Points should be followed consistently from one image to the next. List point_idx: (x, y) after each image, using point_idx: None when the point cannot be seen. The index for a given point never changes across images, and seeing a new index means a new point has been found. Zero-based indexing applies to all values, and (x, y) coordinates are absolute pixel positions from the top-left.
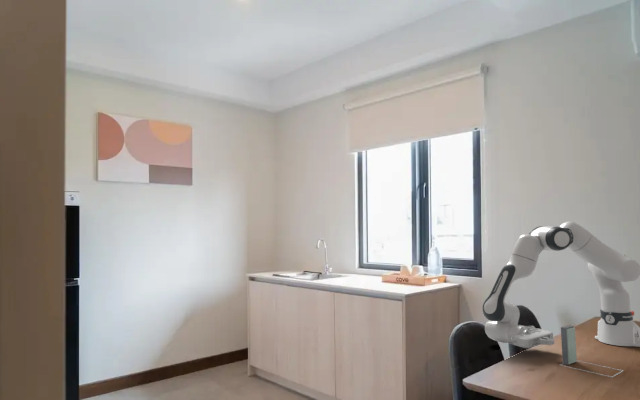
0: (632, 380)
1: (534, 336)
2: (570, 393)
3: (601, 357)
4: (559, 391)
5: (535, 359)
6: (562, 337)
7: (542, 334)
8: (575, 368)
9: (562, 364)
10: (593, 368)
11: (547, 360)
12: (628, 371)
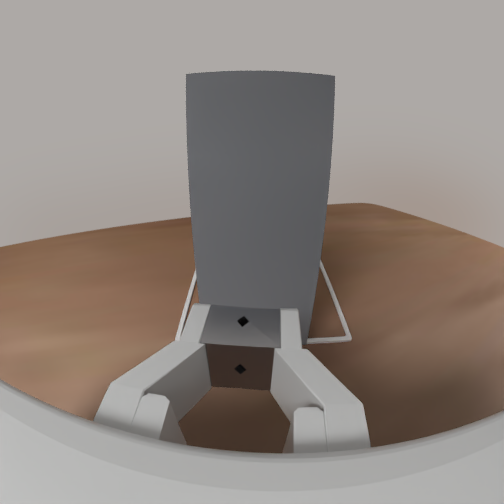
0: None
1: (419, 489)
2: (484, 241)
3: (67, 277)
4: (500, 251)
5: None
6: (328, 163)
7: (50, 440)
8: (330, 286)
9: (324, 338)
10: None
11: None
12: None
